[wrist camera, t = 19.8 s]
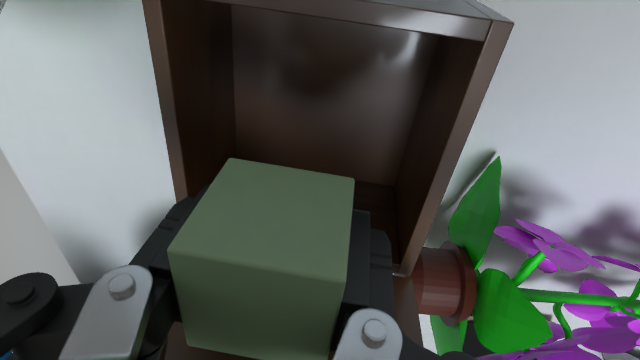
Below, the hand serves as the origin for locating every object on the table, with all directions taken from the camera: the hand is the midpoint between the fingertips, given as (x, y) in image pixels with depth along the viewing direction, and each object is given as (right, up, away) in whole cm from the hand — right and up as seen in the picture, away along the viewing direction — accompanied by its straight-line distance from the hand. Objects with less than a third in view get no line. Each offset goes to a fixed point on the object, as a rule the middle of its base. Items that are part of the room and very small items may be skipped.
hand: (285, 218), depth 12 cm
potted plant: (+24, -4, +13) cm, 28 cm away
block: (0, 0, 0) cm, 0 cm away
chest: (+2, +7, +9) cm, 12 cm away
